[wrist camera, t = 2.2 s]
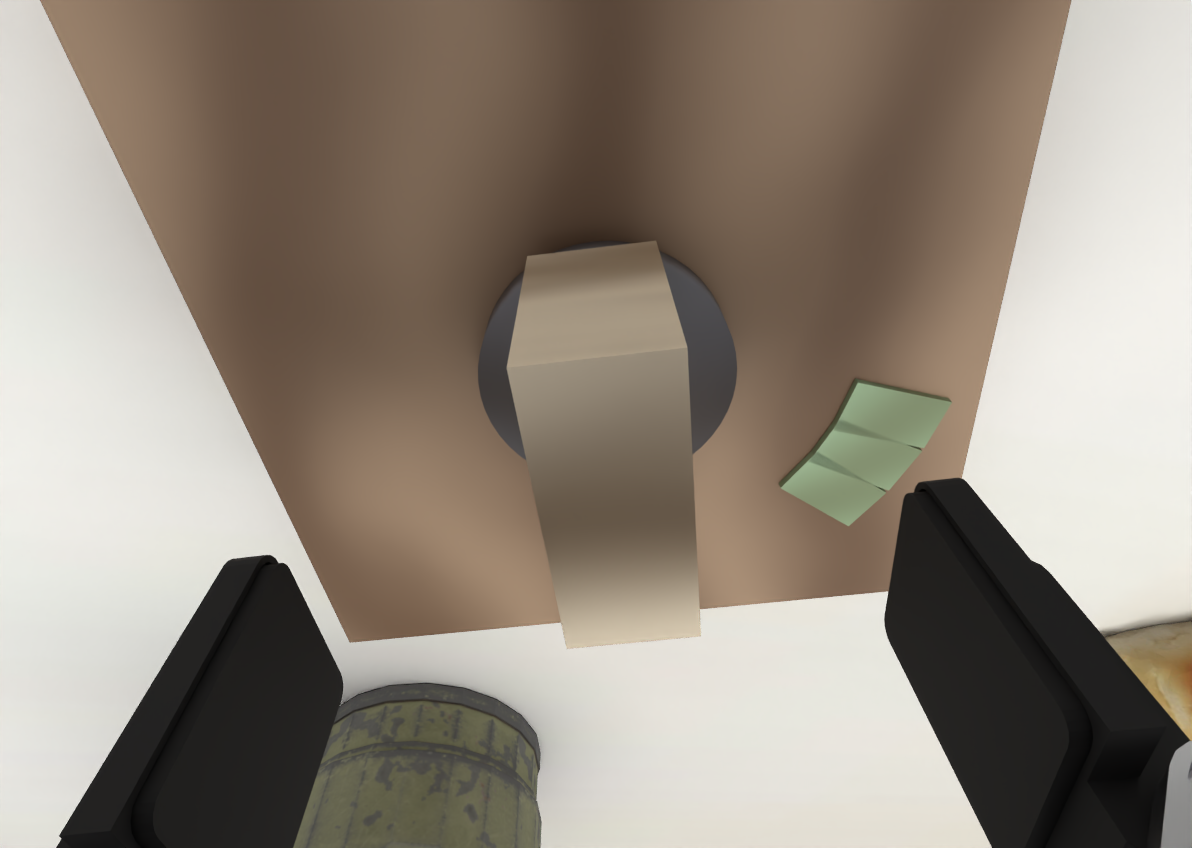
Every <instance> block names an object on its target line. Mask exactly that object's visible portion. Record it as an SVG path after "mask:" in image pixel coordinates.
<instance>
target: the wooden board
mask: <svg viewBox="0 0 1192 848" xmlns="http://www.w3.org/2000/svg"><path fill="white" fill-rule="evenodd" d="M40 1H41V3H42V5H43V7H44V9H45V11H46V13H47V15H48V17H49V20H50V22H51V24H52V26H53V28H54V30H55V32H56V34H57V36H58V38H59V40H60V42H61V44H62V47H63V49H64V51H65V53H66V55H67V57H68V59H69V61H70V63H71V65H72V67H73V69H74V71H75V73H76V76H77V78H78V80H79V82H80V84H81V86H82V88H83V90H84V92H85V94H86V96H87V98H88V100H89V103H90V105H91V107H92V109H93V111H94V113H95V115H96V117H97V119H98V121H99V123H100V125H101V127H102V129H103V132H104V134H105V136H106V138H107V140H108V142H109V144H110V146H111V148H112V150H113V152H114V154H115V156H116V159H117V161H118V163H119V165H120V167H121V169H122V171H123V173H124V175H125V177H126V179H127V181H128V183H129V185H130V188H131V190H132V192H133V194H134V196H135V198H136V200H137V202H138V204H139V206H140V208H141V210H142V212H143V215H144V217H145V219H146V221H147V223H148V225H149V227H150V229H151V231H152V233H153V235H154V237H155V239H156V241H157V244H158V246H159V248H160V250H161V252H162V254H163V256H164V258H165V260H166V262H167V264H168V266H169V268H170V271H171V273H172V275H173V277H174V279H175V281H176V283H177V285H178V287H179V289H180V291H181V293H182V295H183V297H184V300H185V302H186V304H187V306H188V308H189V310H190V312H191V314H192V316H193V318H194V320H195V322H196V324H197V327H198V329H199V331H200V333H201V335H202V337H203V339H204V341H205V343H206V345H207V347H208V349H209V351H210V354H211V356H212V358H213V360H214V362H215V364H216V366H217V368H218V370H219V372H220V374H221V376H222V378H223V380H224V383H225V385H226V387H227V389H228V391H229V393H230V395H231V397H232V399H233V401H234V403H235V405H236V407H237V410H238V412H239V414H240V416H241V418H242V420H243V422H244V424H245V426H246V428H247V430H248V432H249V434H250V436H251V439H252V441H253V443H254V445H255V447H256V449H257V451H258V453H259V455H260V457H261V459H262V461H263V463H264V466H265V468H266V470H267V472H268V474H269V476H270V478H271V480H272V482H273V484H274V486H275V488H276V490H277V492H278V495H279V497H280V499H281V501H282V503H283V505H284V507H285V509H286V511H287V513H288V515H289V517H290V519H291V522H292V524H293V526H294V528H295V530H296V532H297V534H298V536H299V538H300V540H301V542H302V544H303V546H304V548H305V551H306V553H307V555H308V557H309V559H310V561H311V563H312V565H313V567H314V569H315V571H316V573H317V575H318V578H319V580H320V582H321V584H322V586H323V588H324V590H325V592H326V594H327V596H328V598H329V600H330V602H331V604H332V607H333V609H334V611H335V613H336V615H337V617H338V619H339V621H340V623H341V625H342V627H343V629H344V631H345V634H346V636H347V638H348V640H349V642H361V641H371V640H382V639H392V638H403V637H413V636H424V635H434V634H445V633H455V632H466V631H476V630H487V629H497V628H508V627H518V626H528V625H539V624H549V623H560V622H561V619H560V615H559V610H558V605H557V601H556V596H555V591H554V587H553V582H552V577H551V573H550V568H549V563H548V559H547V554H546V549H545V545H544V540H543V535H542V531H541V526H540V521H539V517H538V512H537V507H536V503H535V498H534V493H533V489H532V484H531V479H530V475H529V470H528V465H527V461H526V460H525V459H524V458H522V457H521V456H519V455H518V454H517V453H516V452H515V451H514V450H513V449H511V448H510V447H509V446H508V445H507V443H506V442H505V441H504V440H503V439H502V438H501V437H500V436H499V434H498V433H497V431H496V430H495V428H494V427H493V425H492V424H491V422H490V420H489V418H488V415H487V413H486V411H485V409H484V406H483V403H482V399H481V396H480V390H479V384H478V363H479V356H480V350H481V346H482V343H483V339H484V335H485V331H486V328H487V324H488V321H489V318H490V315H491V313H492V311H493V309H494V307H495V304H496V303H497V301H498V299H499V298H500V296H501V295H502V293H503V292H504V290H505V289H506V288H507V287H508V286H509V284H510V283H511V282H512V281H513V280H514V279H515V278H516V277H517V276H518V275H519V274H520V273H521V272H523V271H524V270H525V265H526V260H527V256H532V255H540V254H549V253H553V252H555V251H557V250H560V249H563V248H566V247H569V246H572V245H576V244H582V243H587V242H593V241H622V242H630V243H640V242H648V241H656V242H657V245H658V249H659V251H661V252H663V253H665V254H667V255H669V256H671V257H673V258H675V259H677V260H678V261H680V262H681V263H682V264H684V265H685V266H687V267H688V268H690V269H691V270H692V271H693V272H694V273H695V274H696V275H697V276H698V277H699V278H700V279H701V280H702V281H703V282H704V284H705V285H706V286H707V287H708V288H709V290H710V291H711V293H712V294H713V296H714V298H715V299H716V301H717V303H718V304H719V307H720V309H721V311H722V314H723V316H724V318H725V321H726V323H727V326H728V328H729V331H730V333H731V336H732V338H733V342H734V346H735V351H736V358H737V379H736V386H735V390H734V395H733V399H732V401H731V404H730V406H729V409H728V412H727V413H726V415H725V417H724V419H723V421H722V423H721V424H720V426H719V427H718V428H717V430H716V431H715V433H714V434H713V435H712V437H711V438H710V439H709V440H708V441H707V442H706V443H705V444H704V445H703V446H702V447H701V448H700V449H699V450H697V451H696V452H695V453H694V454H693V477H694V499H695V520H696V542H697V563H698V585H699V607H700V609H707V608H717V607H728V606H738V605H749V604H759V603H770V602H780V601H791V600H801V599H812V598H822V597H833V596H843V595H854V594H864V593H875V592H885V591H889V585H890V579H891V573H892V567H893V560H894V554H895V548H896V542H897V535H898V529H899V523H900V517H901V510H902V504H903V499H904V496H905V495H906V494H907V493H913V492H914V490H915V487H916V485H917V484H918V483H919V482H923V481H932V480H941V479H950V478H962V474H963V470H964V465H965V461H966V456H967V452H968V448H969V443H970V439H971V435H972V430H973V426H974V422H975V417H976V413H977V409H978V404H979V400H980V396H981V391H982V387H983V383H984V378H985V374H986V369H987V365H988V361H989V356H990V352H991V348H992V343H993V339H994V335H995V330H996V326H997V322H998V317H999V313H1000V309H1001V304H1002V300H1003V296H1004V291H1005V287H1006V282H1007V278H1008V274H1009V269H1010V265H1011V261H1012V256H1013V252H1014V248H1015V243H1016V239H1017V235H1018V230H1019V226H1020V222H1021V217H1022V213H1023V208H1024V204H1025V200H1026V195H1027V191H1028V187H1029V182H1030V178H1031V174H1032V169H1033V165H1034V161H1035V156H1036V152H1037V148H1038V143H1039V139H1040V135H1041V130H1042V126H1043V121H1044V117H1045V113H1046V108H1047V104H1048V100H1049V95H1050V91H1051V87H1052V82H1053V78H1054V74H1055V69H1056V65H1057V61H1058V56H1059V52H1060V47H1061V43H1062V39H1063V34H1064V30H1065V26H1066V21H1067V17H1068V13H1069V8H1070V4H1071V0H40Z"/></svg>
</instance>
